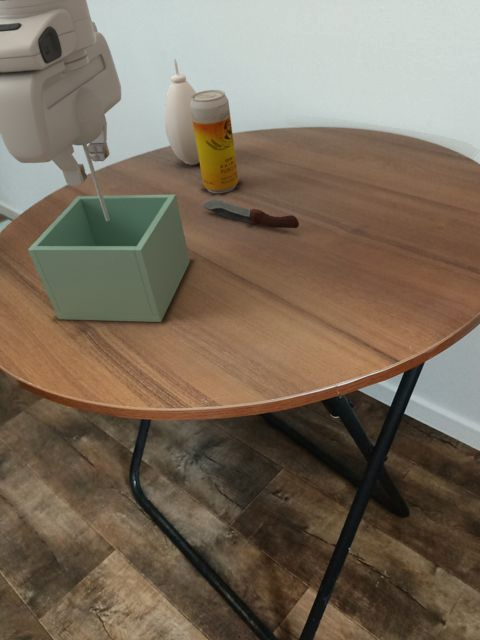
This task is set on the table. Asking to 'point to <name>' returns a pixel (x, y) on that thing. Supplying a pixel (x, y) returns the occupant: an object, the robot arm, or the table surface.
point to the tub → (113, 258)
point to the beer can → (214, 140)
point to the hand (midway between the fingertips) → (89, 170)
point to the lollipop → (90, 130)
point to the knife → (249, 214)
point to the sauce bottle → (180, 119)
